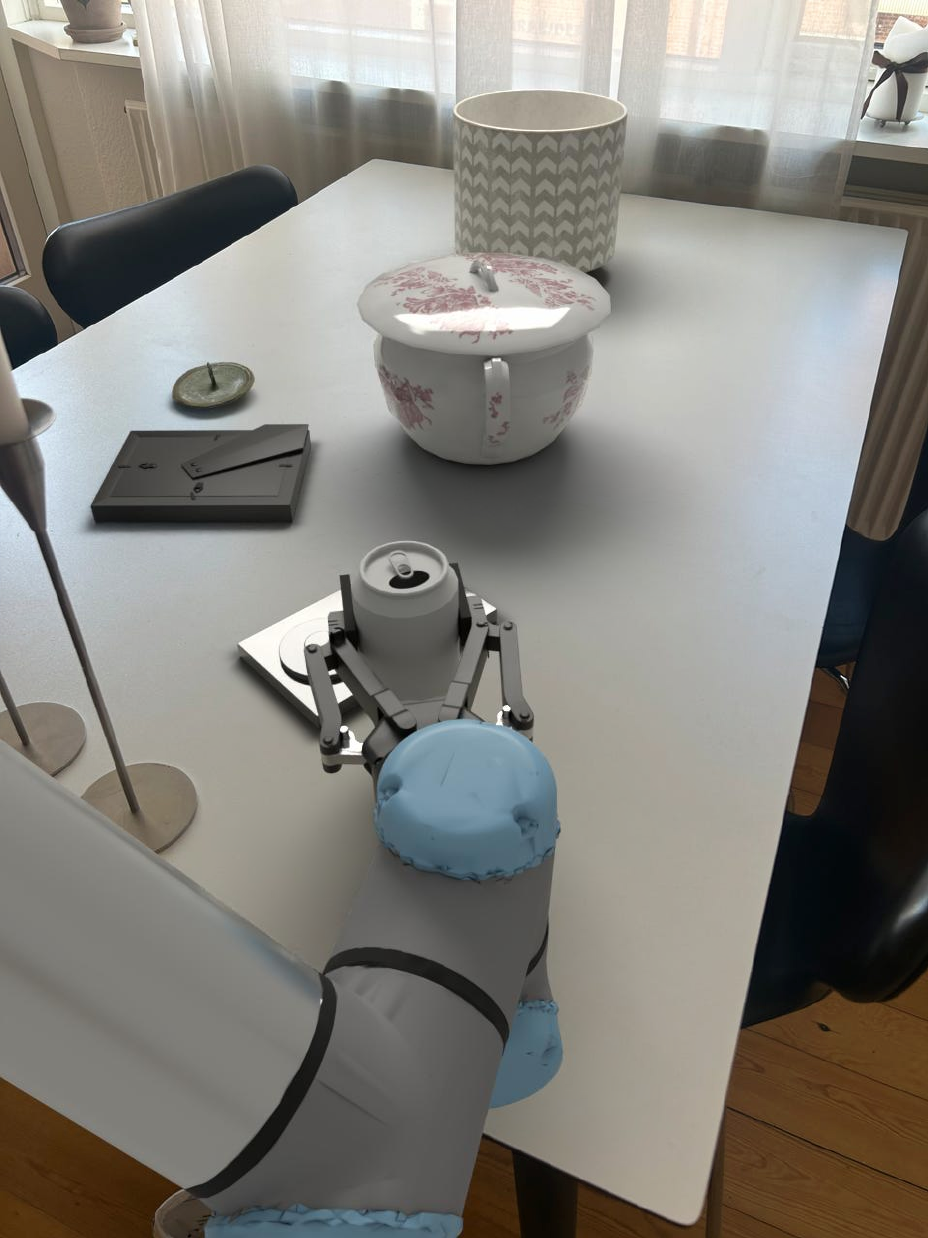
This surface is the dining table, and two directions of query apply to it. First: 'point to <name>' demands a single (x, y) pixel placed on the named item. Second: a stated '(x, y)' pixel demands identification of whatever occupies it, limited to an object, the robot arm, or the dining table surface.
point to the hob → (284, 659)
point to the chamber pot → (484, 350)
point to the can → (408, 618)
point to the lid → (212, 385)
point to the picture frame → (206, 476)
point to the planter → (539, 174)
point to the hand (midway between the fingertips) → (399, 583)
